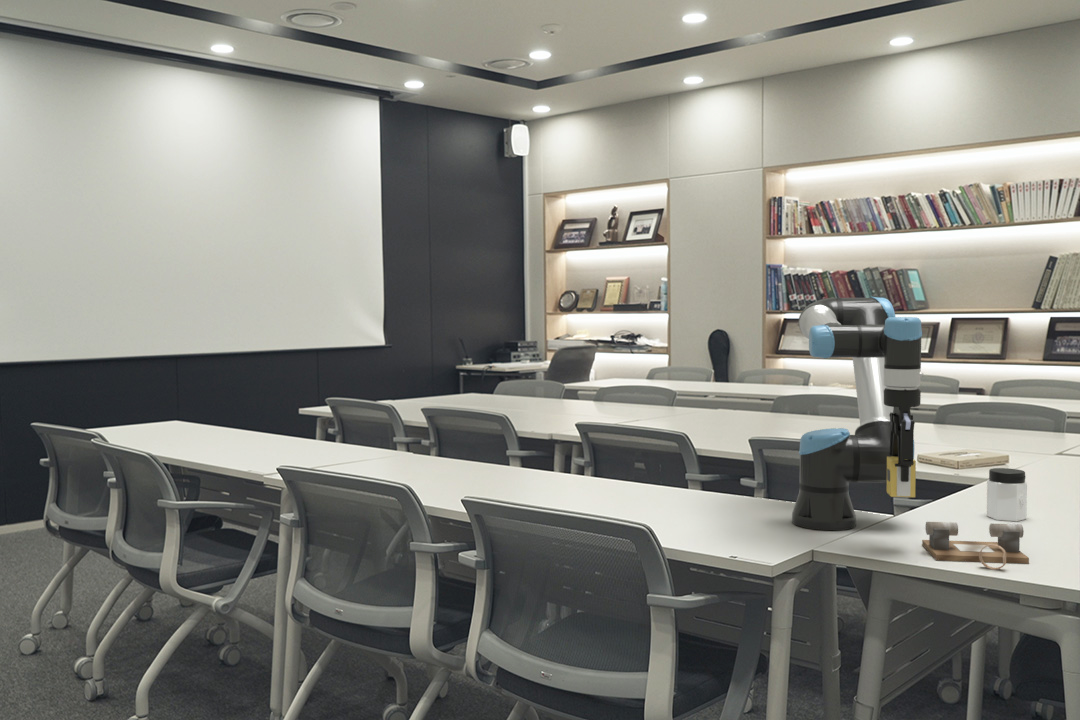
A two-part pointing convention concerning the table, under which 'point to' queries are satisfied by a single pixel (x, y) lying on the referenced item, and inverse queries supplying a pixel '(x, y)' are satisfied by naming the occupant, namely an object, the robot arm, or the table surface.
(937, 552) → the shaft base
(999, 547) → the rose gold watch bracelet
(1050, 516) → the table surface
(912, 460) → the robot arm
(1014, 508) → the jar
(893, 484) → the yellow rectangular block
